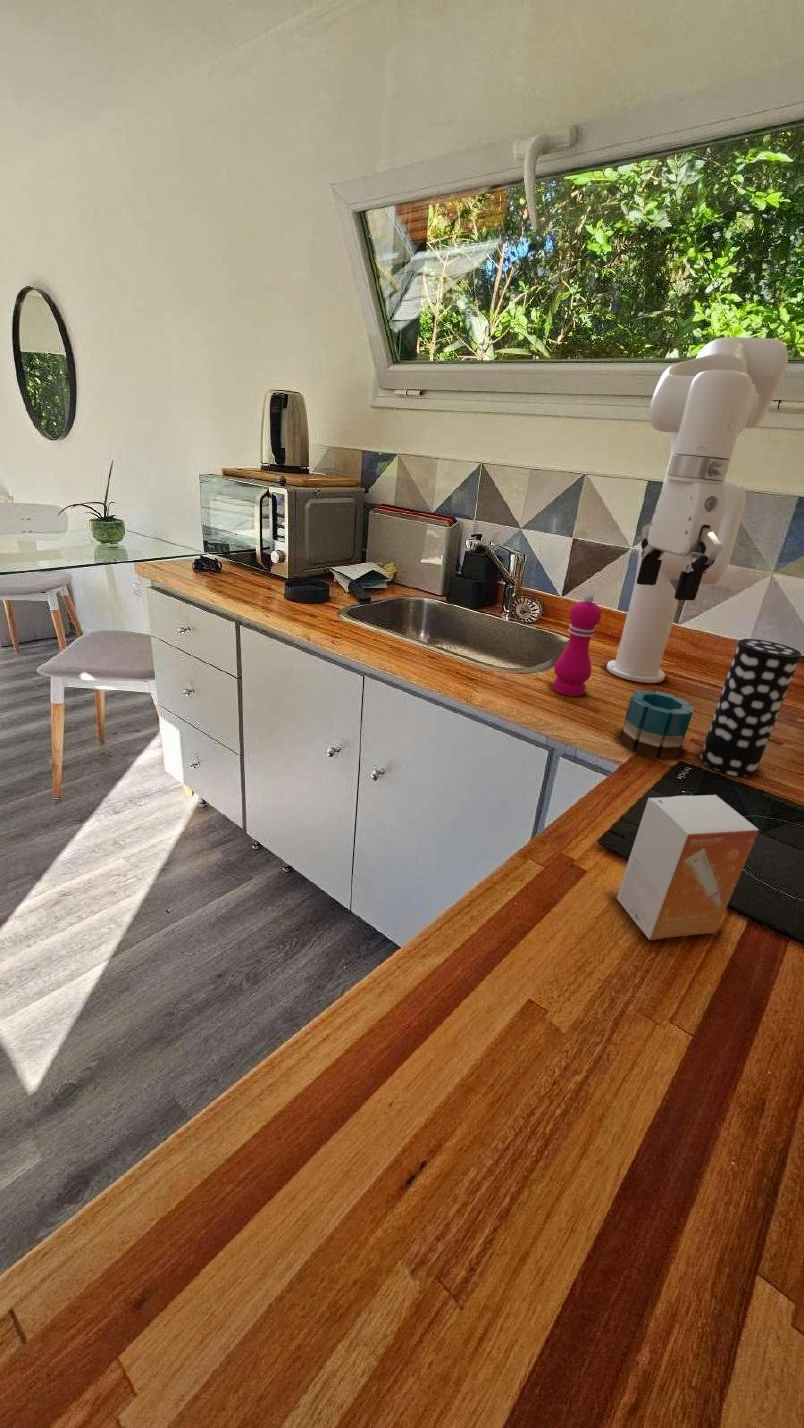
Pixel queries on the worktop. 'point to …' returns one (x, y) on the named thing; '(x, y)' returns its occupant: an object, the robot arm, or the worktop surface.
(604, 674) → the worktop surface
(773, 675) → the spotted tube
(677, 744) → the ring stack
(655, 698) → the teal ring
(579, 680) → the pepper mill
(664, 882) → the small box
